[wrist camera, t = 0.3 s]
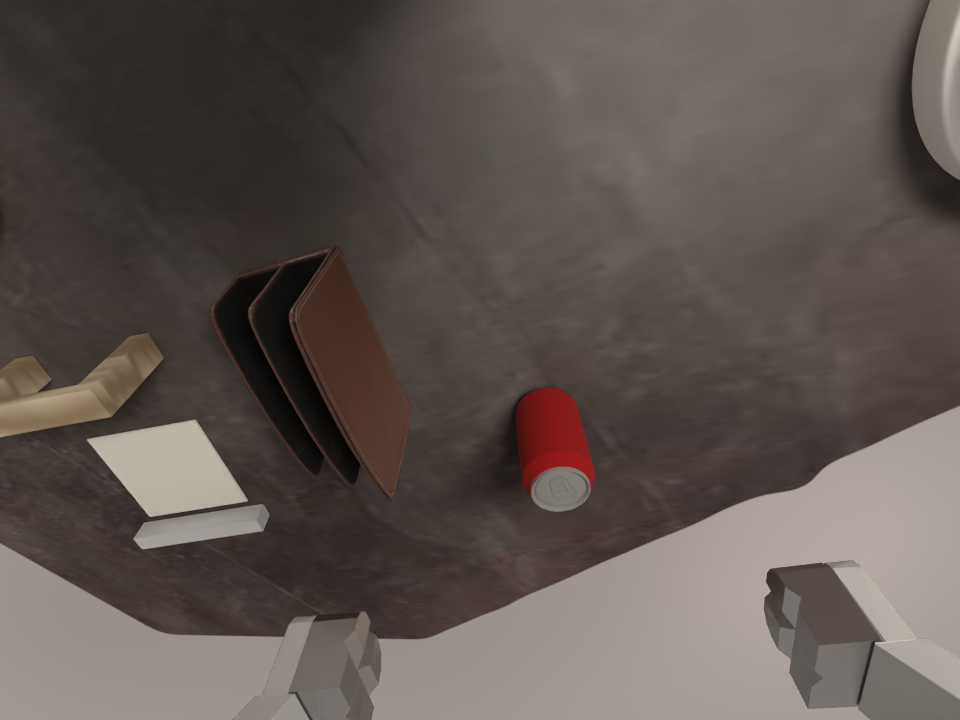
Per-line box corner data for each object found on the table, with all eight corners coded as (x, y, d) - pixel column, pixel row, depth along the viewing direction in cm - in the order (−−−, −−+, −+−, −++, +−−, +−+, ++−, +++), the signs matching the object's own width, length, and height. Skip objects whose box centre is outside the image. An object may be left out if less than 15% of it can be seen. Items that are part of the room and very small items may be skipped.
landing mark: (87, 438, 59) (86, 439, 59) (195, 419, 58) (195, 420, 57) (150, 515, 66) (149, 516, 66) (248, 500, 65) (247, 501, 64)
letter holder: (338, 243, 47) (293, 319, 35) (413, 410, 58) (398, 512, 46) (237, 271, 49) (162, 354, 37) (329, 430, 59) (293, 534, 47)
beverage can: (526, 438, 60) (537, 524, 50) (505, 394, 56) (512, 477, 46) (584, 420, 58) (607, 504, 48) (565, 374, 55) (586, 454, 45)
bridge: (14, 359, 53) (-64, 418, 45) (148, 332, 52) (90, 389, 44) (34, 382, 55) (-39, 443, 47) (164, 357, 53) (111, 416, 45)
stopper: (144, 522, 67) (133, 539, 65) (263, 503, 65) (256, 520, 63) (152, 532, 68) (142, 549, 66) (269, 514, 66) (263, 530, 64)
